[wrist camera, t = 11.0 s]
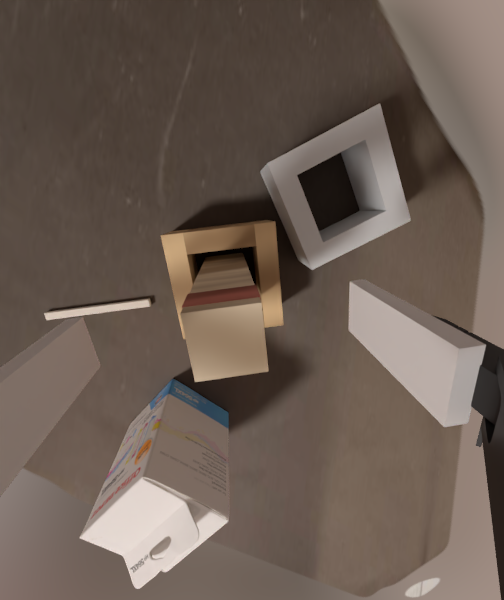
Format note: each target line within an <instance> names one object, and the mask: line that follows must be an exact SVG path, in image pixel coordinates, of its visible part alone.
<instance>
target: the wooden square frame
mask: <svg viewBox="0 0 504 600" xmlns="http://www.w3.org/2000/svg"><path fill="white" fill-rule="evenodd" d="M161 239H162V244H163V248H164V253H165V257H166V262H167V266H168V271H169V276H170V280H171V285H172V289H173V294H174V298H175V303H176V308H177V312H178V317H179V321H180V326H181V330H182V335H183V339H186V338H185V333H184V329H183V324H182V319H181V315H180V313H181V311H182V305H183V303H184V301H185V299H186V296H187V294H189V293H190V291H191V289H192V286H193V284H194V282H195V280H196V278H197V275H198V269H197V263H196V258H195V254H196V253H204V252H212V251H220V250H228V249H237V248H245V247H252V250H253V259H254V268H255V277H256V286H257V289H258V291H259V294H260V297H261V303H262V312H263V322H264V328H266V327H273V326H280V325H283V313H282V300H281V287H280V274H279V261H278V248H277V235H276V223H275V222H274V221H270V220H262V221H254V222H245V223H237V224H229V225H220V226H212V227H204V228H195V229H187V230H178V231H171V232H169V233H166V234H163V235H161Z"/></svg>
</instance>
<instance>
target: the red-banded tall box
mask: <svg viewBox="0 0 504 600" xmlns="http://www.w3.org/2000/svg"><path fill="white" fill-rule="evenodd" d="M180 315H181V319H182V324H183V329H184V333H185V338H186V343H187V347H188V352H189V357H190V361H191V366H192V370H193V375H194V380H195V382H201V381H208V380H214V379H221V378H228V377H234V376H241V375H248V374H255V373H261V372H268V371H269V369H268V360H267V350H266V341H265V331H264V322H263V312H262V303H261V297H260V294H259V291H258V289H257V286H256V285H255V284H254V282H253V279H252V276H251V274H250V271H249V268H248V266H247V263H246V261H245V258H244V255H243V253H234V254H226V255H218V256H210V257H206V258H205V260H204V262H203V264H202V266H201V269H200V271H199V273H198V275H197V278H196V280H195V282H194V284H193V286H192V289H191V291H190V293H189V294H187V296H186V299H185V301H184V303H183V305H182V311H181V313H180Z"/></svg>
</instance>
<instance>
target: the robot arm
mask: <svg viewBox="0 0 504 600" xmlns="http://www.w3.org/2000/svg"><path fill="white" fill-rule="evenodd" d="M349 331H350V332H351V333H352V334H353V335H354V336H355V337H356V338H357V339H358V340H359V341H360V342H361V343H362V344H363V345H364V346H365V347H366V348H367V349H368V350H369V351H370V352H371V353H372V354H373V355H374V356H375V357H376V358H377V359H378V360H379V361H380V363H381V364H382V365H383V366H384V367H385V368H386V369H387V370H388V371H389V372H390V373H391V374H392V375H393V376H394V377H395V378H396V379H397V380H398V381H399V382H400V383H401V384H402V385H403V386H404V387H405V388H406V389H407V390H408V391H409V392H410V393H411V394H412V395H413V396H414V397H415V398H416V399H417V400H418V401H419V402H420V403H421V404H422V405H423V406H424V407H425V408H426V409H427V410H428V411H429V412H430V413H431V414H432V415H433V416H434V417H435V418H436V419H437V420H438V421H439V422H440V423H441V424H442V425H443V426H444V427H448V426H454V425H460V424H466V423H468V421H469V417H470V412H471V408H472V407H473V408H474V409H475V410H477V411H478V412H479V413H480V414H481V415H483V419H482V423H481V427H480V431H479V435H478V439H477V444H476V446H479V447H481V445H482V442H483V449H484V457H485V466H486V474H487V483H488V490H489V500H490V508H491V515H492V524H493V533H494V541H495V550H496V558H497V567H498V575H499V583H500V592H501V600H504V349H502V348H500V347H497V346H495V345H494V344H492V343H490V342H488V341H486V340H484V339H482V338H480V337H479V336H477V335H475V334H473V333H469V332H468V331H467V330H465V329H463V328H461V327H458V326H457V325H455V324H454V323H452V322H450V321H448V320H446V319H442V318H439V317H436V316H432V315H430V314H428V313H426V312H424V311H422V310H421V309H419V308H417V307H415V306H413V305H411V304H409V303H407V302H406V301H404V300H402V299H400V298H398V297H396V296H394V295H393V294H391V293H389V292H387V291H385V290H383V289H381V288H380V287H378V286H376V285H374V284H372V283H370V282H368V281H367V280H365V279H363V280H356V281H350V290H349ZM99 368H100V363H99V360H98V357H97V355H96V352H95V349H94V346H93V344H92V341H91V338H90V335H89V333H88V330H87V327H86V324H85V322H84V319H83V317H81V318H73V319H66V320H65V321H64V322H62V323H61V324H59V325H58V326H57V327H55V328H54V329H53V330H51V331H50V332H48V333H47V334H46V335H44V336H43V337H42V338H40V339H39V340H37V341H36V342H35V343H33V344H32V345H31V346H29V347H28V348H26V349H25V350H24V351H22V352H21V353H20V354H18V355H17V356H15V357H14V358H13V359H11V360H10V361H9V362H7V363H6V364H4V365H3V366H2V367H0V497H1V495H2V494H3V493H4V491H5V490H6V489H7V487H8V486H9V485H10V483H11V482H12V481H13V480H14V478H15V477H16V476H17V474H18V473H19V472H20V470H21V469H22V468H23V467H24V465H25V464H26V463H27V461H28V460H29V459H30V458H31V456H32V455H33V454H34V452H35V451H36V450H37V448H38V447H39V446H40V444H41V443H42V442H43V441H44V439H45V438H46V437H47V435H48V434H49V433H50V431H51V430H52V429H53V428H54V426H55V425H56V424H57V422H58V421H59V420H60V418H61V417H62V416H63V414H64V413H65V412H66V411H67V409H68V408H69V407H70V405H71V404H72V403H73V401H74V400H75V399H76V398H77V396H78V395H79V394H80V392H81V391H82V390H83V388H84V387H85V386H86V384H87V383H88V382H89V381H90V379H91V378H92V377H93V375H94V374H95V373H96V371H97V370H98V369H99Z"/></svg>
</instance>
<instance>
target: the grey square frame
mask: <svg viewBox="0 0 504 600" xmlns="http://www.w3.org/2000/svg"><path fill="white" fill-rule="evenodd" d="M340 152H341V155H342V158H343V161H344V164H345V167H346V170H347V173H348V176H349V179H350V182H351V185H352V189H353V192H354V195H355V198H356V201H357V204H358V207H359V210H360V211H358V212H356V213H354V214H352V215H350V216H348V217H347V218H345V219H343V220H341V221H339V222H337V223H335V224H333V225H331V226H329V227H327V228H325V229H323V230H321V231H319V230H318V228H317V225H316V223H315V220H314V218H313V215H312V212H311V210H310V207H309V205H308V202H307V200H306V197H305V194H304V192H303V189H302V187H301V184H300V182H299V179H298V177H297V175H298V174H300V173H302V172H304V171H306V170H308V169H310V168H312V167H314V166H315V165H317V164H319V163H321V162H323V161H325V160H327V159H329V158H331V157H333V156H334V155H336V154H338V153H340ZM260 173H261V175H262V178H263V180H264V182H265V185H266V187H267V189H268V191H269V194H270V196H271V198H272V201H273V203H274V205H275V208H276V210H277V212H278V214H279V217H280V219H281V221H282V224H283V226H284V228H285V231H286V233H287V235H288V238H289V240H290V242H291V244H292V247H293V249H294V251H295V254H296V256H297V258H298V261H300V262H301V263H303V264H304V265H306V266H307V267H309V268H310V269H311V270H313V269H315V268H317V267H319V266H321V265H323V264H325V263H327V262H329V261H331V260H333V259H335V258H337V257H339V256H341V255H343V254H345V253H347V252H349V251H351V250H353V249H355V248H357V247H359V246H361V245H363V244H365V243H367V242H369V241H371V240H373V239H375V238H377V237H379V236H381V235H383V234H385V233H387V232H389V231H391V230H393V229H395V228H397V227H399V226H401V225H403V224H405V223H407V222H409V221H411V219H410V215H409V211H408V208H407V204H406V200H405V196H404V192H403V189H402V185H401V181H400V177H399V173H398V170H397V166H396V162H395V158H394V154H393V151H392V147H391V143H390V139H389V135H388V132H387V128H386V124H385V120H384V116H383V113H382V109H381V105H380V103H379V104H377V105H376V106H374V107H372V108H370V109H368V110H366V111H364V112H362V113H361V114H359V115H357V116H355V117H353V118H351V119H349V120H347V121H346V122H344V123H342V124H340V125H338V126H336V127H334V128H333V129H331V130H329V131H327V132H325V133H323V134H321V135H319V136H318V137H316V138H314V139H312V140H310V141H308V142H306V143H304V144H303V145H301V146H299V147H297V148H295V149H293V150H291V151H290V152H288V153H286V154H284V155H282V156H280V157H278V158H276V159H275V160H273V161H271V162H269V163H267V164H266V165H265V167H264V168H263V169H262V170H261V171H260Z"/></svg>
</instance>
